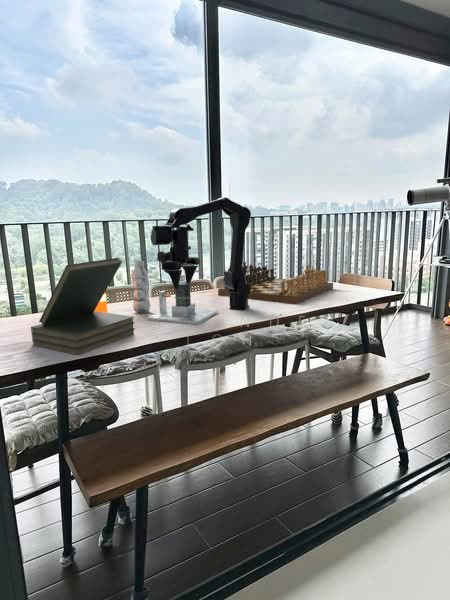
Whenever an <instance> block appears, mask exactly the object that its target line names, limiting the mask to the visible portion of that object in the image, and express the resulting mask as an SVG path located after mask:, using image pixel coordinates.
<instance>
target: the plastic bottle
mask: <svg viewBox="0 0 450 600" xmlns="http://www.w3.org/2000/svg"><path fill="white" fill-rule="evenodd" d="M133 267H134V269H133V270H132V272H131V274H130V275H131V276H130V277H131V283H132V286H133V287H132V288H133V305H132V306H133V307H132V308H133V311H135V312H136V313H141V314H144V313H147V312H150V311H151V306H152V305H151V301H150V297H149V289H148V288H149V285H148V284H149V273H148V271H147V270H146V269H145V261H144V260H136V261H133Z"/></svg>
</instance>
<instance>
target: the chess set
mask: <svg viewBox="0 0 450 600" xmlns="http://www.w3.org/2000/svg"><path fill="white" fill-rule="evenodd" d="M242 269H243V272H244V275H245V283H246V284H247V285H248V286H249V287H250V288H251V291H250V294H248V300H256V301H264V302H273V303H280V304H289V305H290V304H291V305H299V304H301V303H303V302H305V300H306V301H308V300H311V299H313V298H315V297H318V296H320V295H323V294H325V293H327V291H328V292H329V290H330V291H332V290H334V282H330V281H328V277H327V274H328V270H321V269H319V270H318V269H315V267H314V266H311V268H310V264H307V265H306V268H305V269H303V272H304V273H301V274H300V275H298V276H296V277H291V278H277V277H276V276H275V275H274V273H275V272H274V271H275V269H274V268H272V267H271V268H270V269H268V267H267V266H260V265H258V266H257V267H256V265H252V262H251V263H249V265H247V262H246V261H245V260H243V262H242ZM324 292H325V293H324ZM217 293H218V295H217V296H221V297H229V298H230V296H231V293H232V292H229V290H228V288H227V287H226V285H225V284H224V286H223V287H219V288H217ZM322 293H323V294H322ZM319 294H320V295H319ZM317 295H318V296H317ZM312 297H313V298H312ZM310 298H311V299H310ZM307 299H308V300H307Z"/></svg>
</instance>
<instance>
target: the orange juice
mask: <svg viewBox="0 0 450 600" xmlns="http://www.w3.org/2000/svg"><path fill="white" fill-rule="evenodd" d="M106 291H107V290H106ZM106 291H105V293H104V295H103V297H102V298H101V300H100V302H99V304H98V305H97V307H96V309H95V311H97V312H104V313H108V306H107V303H108V302H107V292H106Z"/></svg>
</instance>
